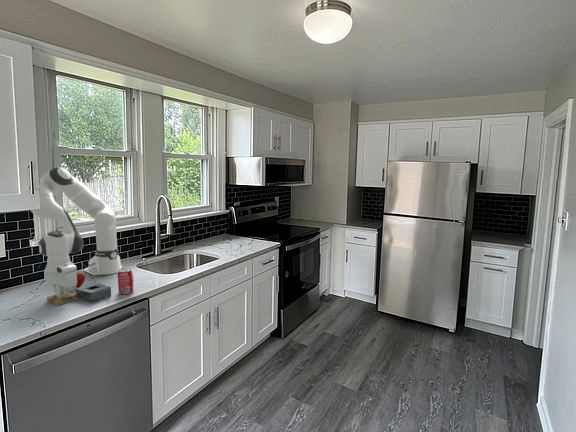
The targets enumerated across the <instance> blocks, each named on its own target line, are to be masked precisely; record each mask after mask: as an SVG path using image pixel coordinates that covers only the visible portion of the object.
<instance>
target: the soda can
mask: <svg viewBox="0 0 576 432" xmlns="http://www.w3.org/2000/svg"><path fill="white" fill-rule="evenodd" d="M117 287H118V288H117V289H118V293H119V294H121V295H129V294H131V293H132V292H134V274H133V271H132V269H131V268H122V269H121V270H119V272H117Z"/></svg>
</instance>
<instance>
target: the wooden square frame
mask: <svg viewBox="0 0 576 432" xmlns="http://www.w3.org/2000/svg"><path fill="white" fill-rule="evenodd" d="M73 301H77V298H76V293H73V292H69V291H68V295H67V296H65V297H62V298H57V297H56V293H55V294H53V295H49V296H46V303H49V304H51V305H55V306H61V305H65V304H67V303H70V302H73Z"/></svg>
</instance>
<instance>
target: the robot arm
mask: <svg viewBox="0 0 576 432" xmlns="http://www.w3.org/2000/svg"><path fill="white" fill-rule="evenodd" d="M39 180H40V185H39V188H40V209H35V210H30V212H31V213H32V214H33V215H35V216H37V217H39V218H42V219H48V220H53V221H57V222H58V223H60V224H61V226H62V227H63V229H64V231H62V230H61V231H60V230H54V231H50V232H48V233H46V236H45V237H42V238H41V239H39V241H38V253H39V254H40V255H42V256H44V257H47V259H46V261H47V262H46V263H47V264H46V265H45V268H44V272H43V273H44V277H43V278H44V282H46V283H48V284H51V286H52V288H53V289H54V290H53V292H54V293H55V294H56V289H55V285H58V286H62V287H63V289H64V291H63V295H68V292H69V290H70V289H73V288H77V287H76V285H77V274H76V273H77V272H76V271H77V269H78V268H77V265H75V264H74V263H73V262H72V261H71V258H70V255H69V254H78V253H79V252H81V251H82V250H83V249H84V247H85V242H84V240H83V237H82V236H81V234H80V233H79V231H78V229H77V227H76V226H75V224H74V222H73V220H72V218H71V216H70V215H69V213H68V211H67V209H66V208H65V207H64V206H63V207H62V206H60V205H59V204H58V203H57V201H56V199H55V196H56V195H58V194H59V193H63V194H64V195H65V196H66V197H67V198H68V199H69V200H70V201H71V202H73V204H75V205H76V206H77V207H78V208H79V209H80V210H81V211H83V212H84V213H86V214H87V215H89V217H91V218H92V219H93V220H94V222H93V223H94V229H95V230H94V233H95V240H96V241H95V242H96V249H94V250H93V252H94V253H95V254H94V256H93V257H92V258H91V259H89V260H88V263H87V264H88V266H87V267H86V268H84V269H83V272H86V273H88V274H89V275H93V276H105V275H112V274H116V273H117V274H118V273H119V270H121V269H124V268H123V265H122V263H121V257H120V255H119V248H118V238H117V234H118V233H117V218H116V215H117V214H116V212H115V211H114V209H112V208H111V207H110V206H109V205H108V204H106V203H105V202H104V201H103V200H101V199H100V198H99V197H98V196H97V195H96V194H95V193H94V192H92V191H91V190H90V188H88V187H87V185H85V184H84V183H82V181H80V180H79V179H77V178H76V177H73V175H72V174H71V172H70V170H68V169H66V168H64V167H61V166H55V167H53V168H51V169H50V170H49V171H47V172H46V173H45V174H43V175H42V176H41V178H40V179H39Z"/></svg>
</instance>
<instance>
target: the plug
mask: <svg viewBox="0 0 576 432" xmlns="http://www.w3.org/2000/svg"><path fill="white" fill-rule="evenodd" d="M55 289H56V293H55V294H56V297H57V298H62V297H65V296H67V295H63V291H64V289H63V287H62V286H58V285H55Z"/></svg>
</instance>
